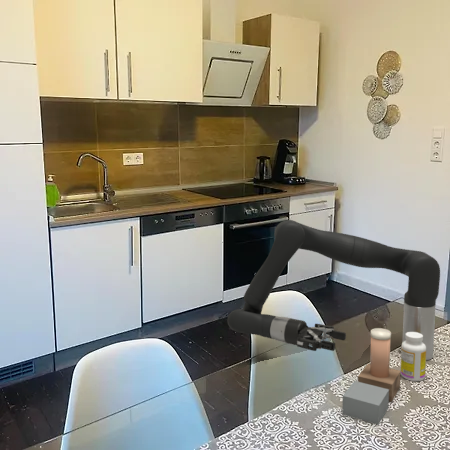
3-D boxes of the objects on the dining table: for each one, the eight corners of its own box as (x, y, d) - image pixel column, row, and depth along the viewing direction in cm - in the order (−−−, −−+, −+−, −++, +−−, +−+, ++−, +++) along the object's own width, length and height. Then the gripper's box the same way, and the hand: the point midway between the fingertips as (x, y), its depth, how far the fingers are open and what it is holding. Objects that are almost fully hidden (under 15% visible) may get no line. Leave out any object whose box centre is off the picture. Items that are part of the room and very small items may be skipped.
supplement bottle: (421, 371, 141) (422, 330, 139) (428, 382, 134) (430, 339, 132) (397, 371, 141) (399, 330, 139) (403, 381, 135) (405, 339, 133)
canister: (372, 367, 133) (373, 326, 131) (391, 371, 130) (393, 330, 128) (367, 375, 129) (368, 333, 127) (386, 379, 126) (388, 336, 124)
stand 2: (354, 398, 127) (354, 380, 126) (388, 407, 122) (389, 389, 121) (342, 414, 119) (342, 395, 118) (378, 424, 114) (379, 405, 114)
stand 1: (367, 379, 137) (368, 363, 136) (400, 387, 132) (400, 370, 131) (357, 393, 129) (358, 376, 128) (391, 402, 124) (392, 384, 123)
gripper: (277, 326, 137) (331, 337, 128) (298, 311, 149) (349, 321, 140) (277, 350, 138) (330, 363, 129) (298, 334, 150) (348, 345, 141)
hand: (340, 341), depth 135 cm, fingers open, 8 cm apart
